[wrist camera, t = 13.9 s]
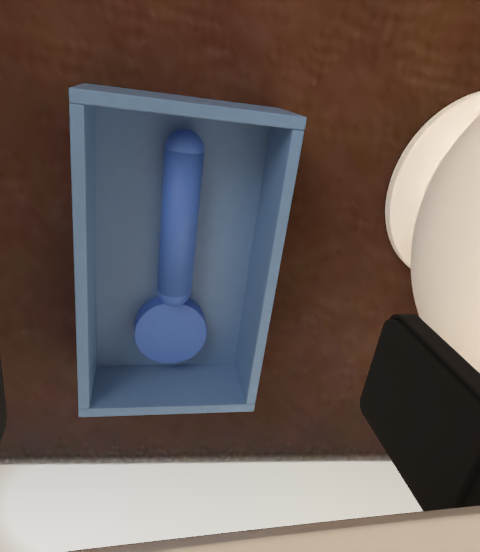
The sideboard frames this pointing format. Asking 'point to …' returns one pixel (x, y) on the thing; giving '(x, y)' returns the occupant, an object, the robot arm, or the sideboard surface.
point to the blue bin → (146, 238)
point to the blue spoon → (176, 259)
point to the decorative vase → (442, 223)
